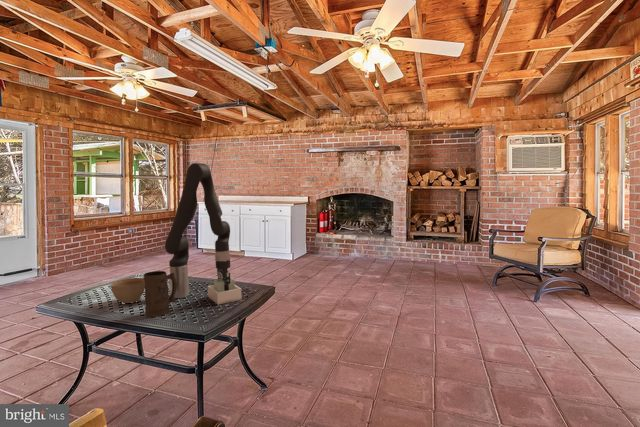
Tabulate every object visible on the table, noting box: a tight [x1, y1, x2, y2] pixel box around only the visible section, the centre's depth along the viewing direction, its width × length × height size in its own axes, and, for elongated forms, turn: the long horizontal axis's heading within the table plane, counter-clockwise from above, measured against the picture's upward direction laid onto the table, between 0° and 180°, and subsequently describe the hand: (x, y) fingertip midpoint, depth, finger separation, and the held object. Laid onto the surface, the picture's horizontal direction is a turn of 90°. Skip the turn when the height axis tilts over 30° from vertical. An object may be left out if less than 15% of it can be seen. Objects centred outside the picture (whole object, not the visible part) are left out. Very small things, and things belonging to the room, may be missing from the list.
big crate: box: [207, 284, 243, 306], centre depth 187 cm, size 13×16×6 cm
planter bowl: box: [110, 277, 145, 303], centre depth 185 cm, size 16×16×11 cm
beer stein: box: [143, 270, 177, 318], centre depth 169 cm, size 15×11×20 cm
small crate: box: [213, 276, 236, 293], centre depth 186 cm, size 9×6×7 cm
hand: (224, 289), depth 187 cm, fingers closed on small crate, 6 cm apart
